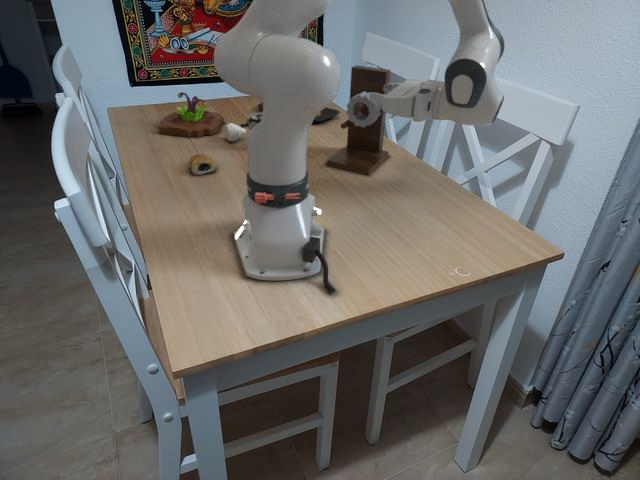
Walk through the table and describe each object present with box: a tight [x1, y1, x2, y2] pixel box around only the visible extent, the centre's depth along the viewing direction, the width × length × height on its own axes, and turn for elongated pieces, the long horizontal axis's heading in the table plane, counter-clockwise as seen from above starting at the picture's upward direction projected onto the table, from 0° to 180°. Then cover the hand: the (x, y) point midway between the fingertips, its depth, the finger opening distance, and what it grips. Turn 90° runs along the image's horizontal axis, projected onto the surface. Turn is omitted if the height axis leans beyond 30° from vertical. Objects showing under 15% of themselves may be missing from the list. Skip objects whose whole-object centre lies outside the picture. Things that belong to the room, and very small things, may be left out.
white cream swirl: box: [224, 122, 247, 143], centre depth 138 cm, size 6×6×5 cm
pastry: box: [188, 153, 217, 176], centre depth 120 cm, size 9×7×4 cm
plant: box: [158, 91, 225, 138], centre depth 145 cm, size 20×20×11 cm
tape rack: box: [326, 64, 391, 176], centre depth 121 cm, size 15×12×24 cm
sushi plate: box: [240, 102, 340, 127], centre depth 156 cm, size 29×30×4 cm
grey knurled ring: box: [345, 91, 381, 127], centre depth 118 cm, size 4×8×8 cm, turn 62°
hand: (377, 91), depth 113 cm, fingers open, 8 cm apart
